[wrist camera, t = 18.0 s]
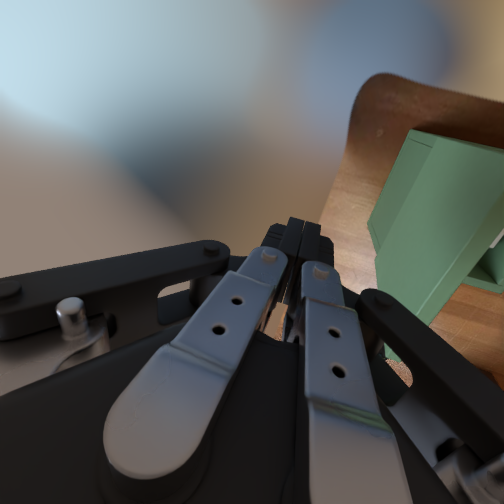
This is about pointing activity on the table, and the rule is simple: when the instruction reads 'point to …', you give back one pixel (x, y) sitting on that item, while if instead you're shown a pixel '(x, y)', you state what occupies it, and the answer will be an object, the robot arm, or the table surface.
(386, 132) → the table surface
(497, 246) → the chest
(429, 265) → the lid
